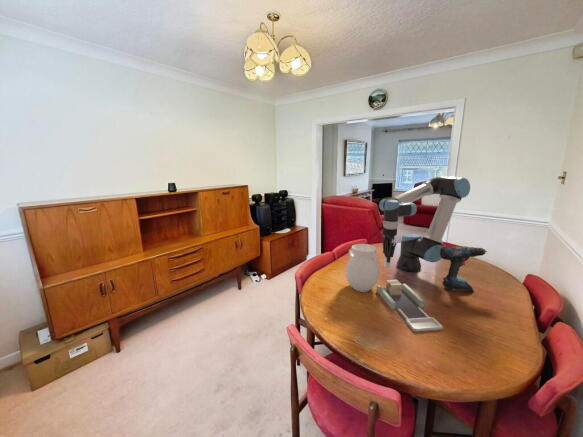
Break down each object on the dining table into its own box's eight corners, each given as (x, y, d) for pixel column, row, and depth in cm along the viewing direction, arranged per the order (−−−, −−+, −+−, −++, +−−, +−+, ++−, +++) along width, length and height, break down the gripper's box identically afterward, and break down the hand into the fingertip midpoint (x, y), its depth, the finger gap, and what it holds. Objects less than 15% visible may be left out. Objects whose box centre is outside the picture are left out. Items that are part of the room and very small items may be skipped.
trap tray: (405, 321, 114) (405, 318, 114) (432, 319, 115) (433, 316, 114) (414, 331, 107) (414, 328, 107) (442, 329, 108) (443, 326, 108)
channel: (376, 291, 141) (377, 285, 140) (404, 289, 142) (405, 283, 141) (391, 309, 124) (392, 303, 123) (423, 307, 125) (424, 300, 124)
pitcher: (383, 286, 145) (386, 246, 140) (369, 299, 132) (371, 255, 127) (354, 277, 158) (356, 240, 152) (339, 288, 145) (340, 247, 139)
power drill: (485, 293, 136) (492, 250, 130) (439, 289, 141) (444, 248, 135) (477, 285, 144) (483, 244, 139) (433, 282, 149) (438, 243, 143)
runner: (378, 288, 144) (378, 287, 143) (399, 287, 144) (399, 286, 144) (405, 321, 114) (405, 319, 114) (431, 319, 115) (432, 317, 115)
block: (385, 289, 141) (386, 280, 140) (396, 289, 142) (396, 279, 140) (390, 295, 135) (391, 285, 134) (401, 294, 136) (402, 284, 135)
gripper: (378, 225, 145) (376, 262, 151) (389, 231, 133) (385, 271, 138) (391, 224, 146) (388, 262, 151) (402, 230, 133) (398, 271, 139)
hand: (386, 266), depth 145 cm, fingers closed
